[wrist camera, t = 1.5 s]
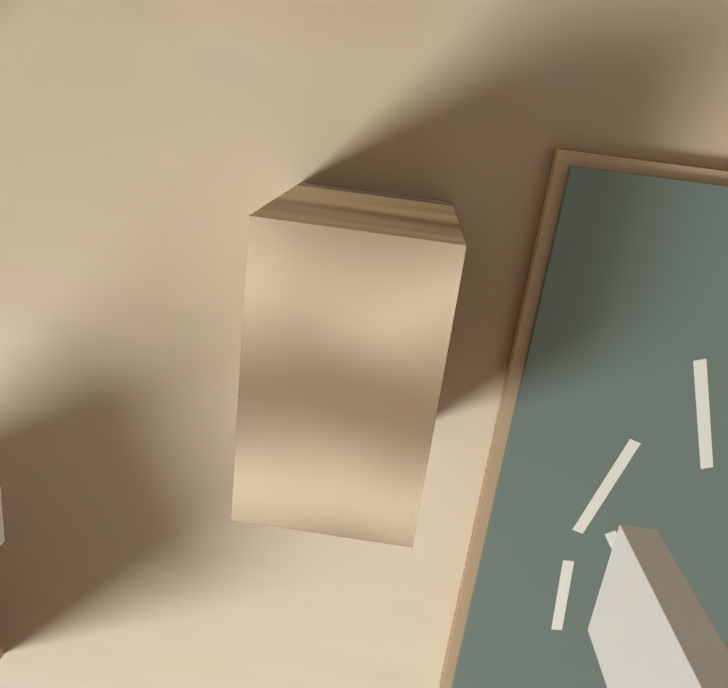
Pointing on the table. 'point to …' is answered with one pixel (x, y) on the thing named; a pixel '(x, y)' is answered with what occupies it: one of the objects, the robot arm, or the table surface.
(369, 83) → the table surface
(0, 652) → the greeting card
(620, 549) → the robot arm
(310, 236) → the eraser block
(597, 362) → the chalkboard
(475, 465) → the table surface
